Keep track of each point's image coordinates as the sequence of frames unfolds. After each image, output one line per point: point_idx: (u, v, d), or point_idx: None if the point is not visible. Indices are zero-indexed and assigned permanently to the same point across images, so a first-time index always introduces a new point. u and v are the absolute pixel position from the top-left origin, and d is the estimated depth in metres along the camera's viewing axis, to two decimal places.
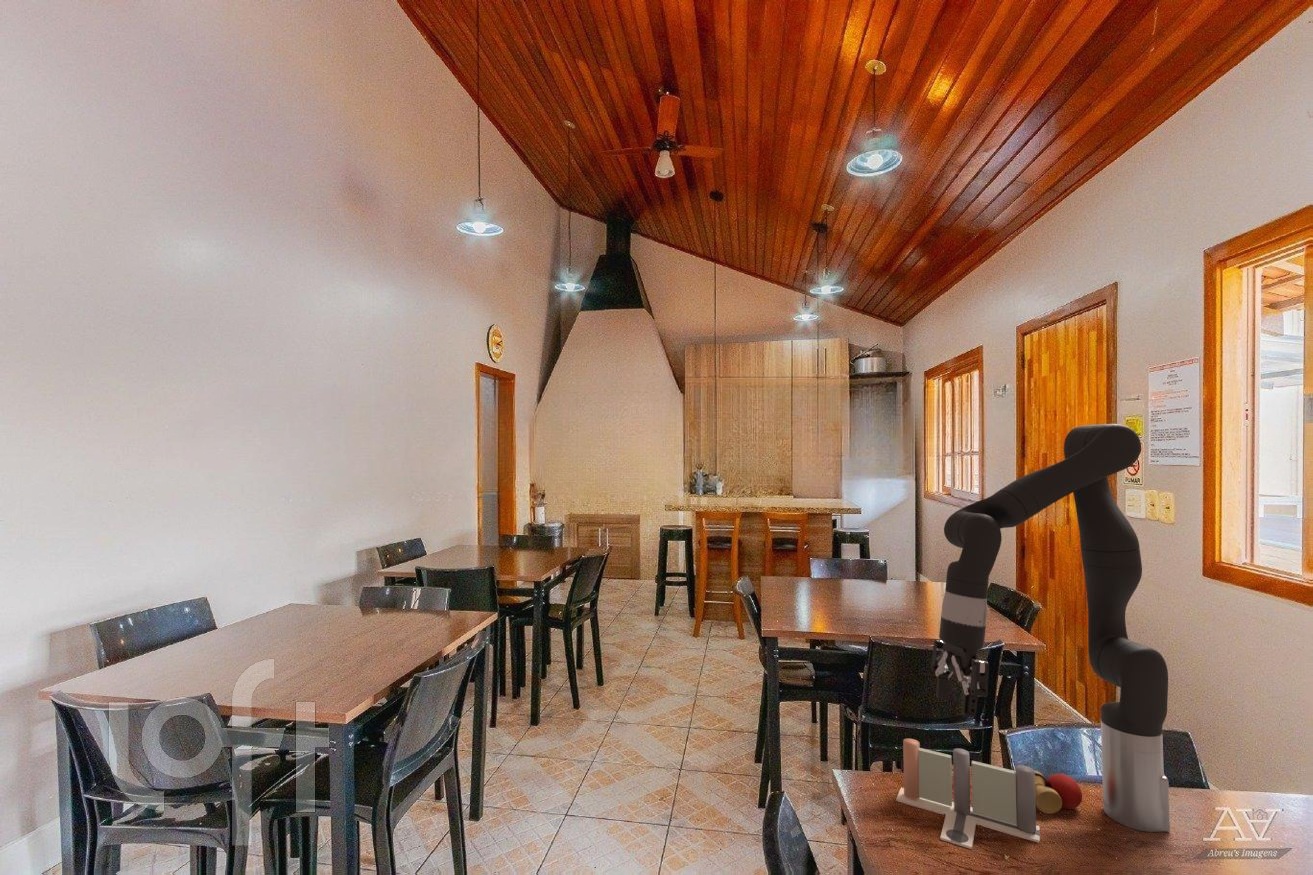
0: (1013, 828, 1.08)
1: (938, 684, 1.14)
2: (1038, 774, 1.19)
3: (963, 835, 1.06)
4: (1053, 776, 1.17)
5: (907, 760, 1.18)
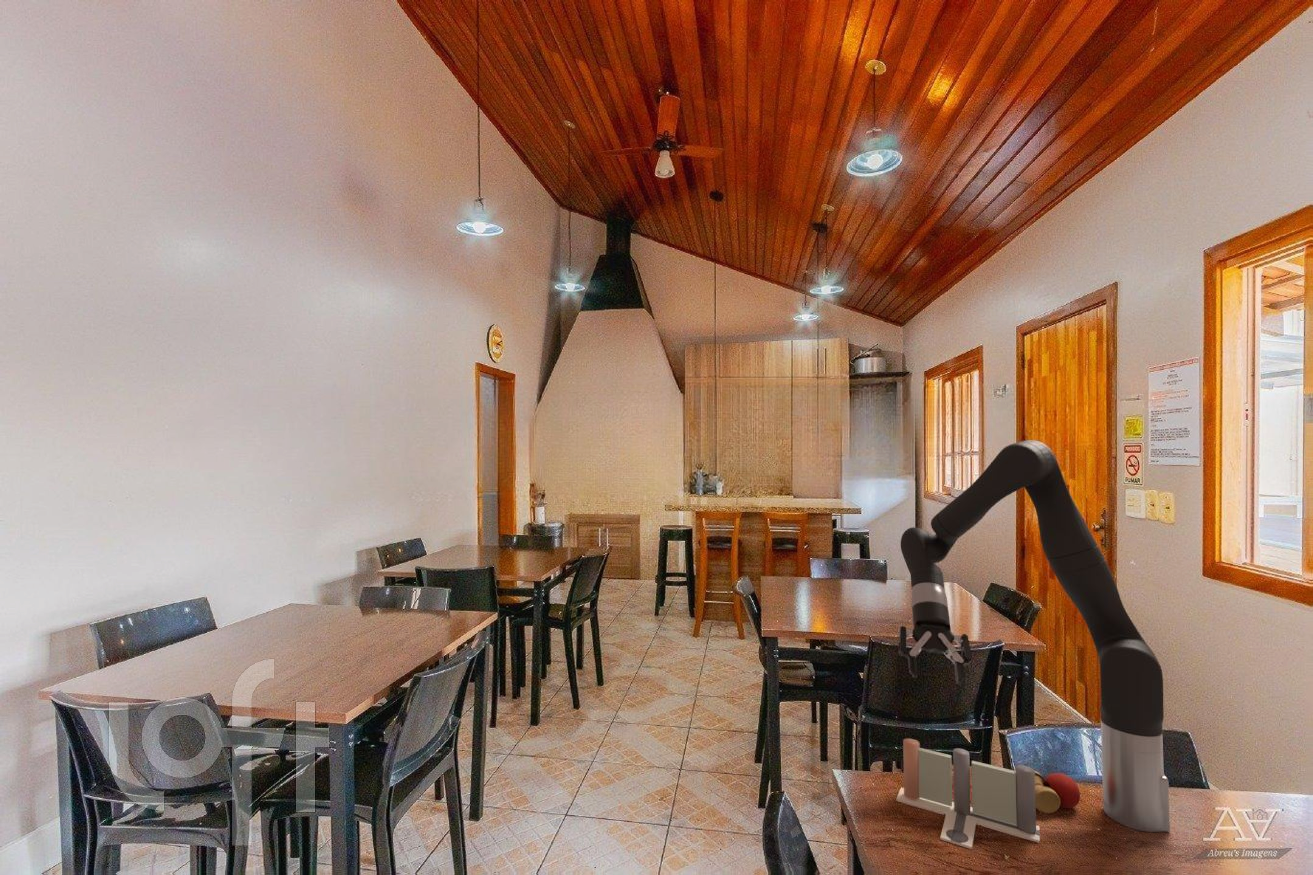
0: (1013, 828, 1.08)
1: None
2: (1036, 774, 1.19)
3: (963, 835, 1.06)
4: (1051, 776, 1.18)
5: (907, 760, 1.18)
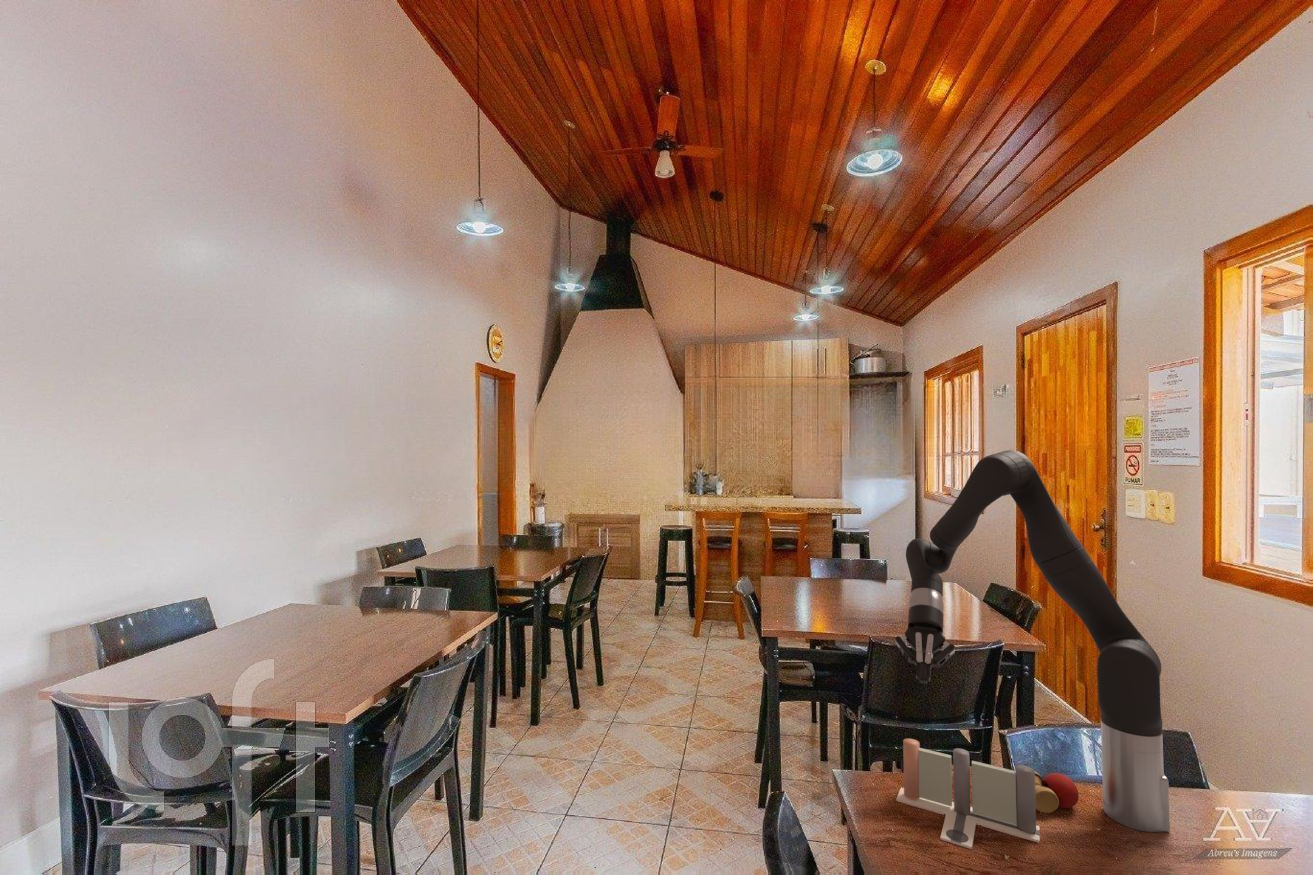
0: (1013, 828, 1.08)
1: None
2: (1035, 774, 1.19)
3: (963, 835, 1.06)
4: (1050, 776, 1.18)
5: (907, 760, 1.18)
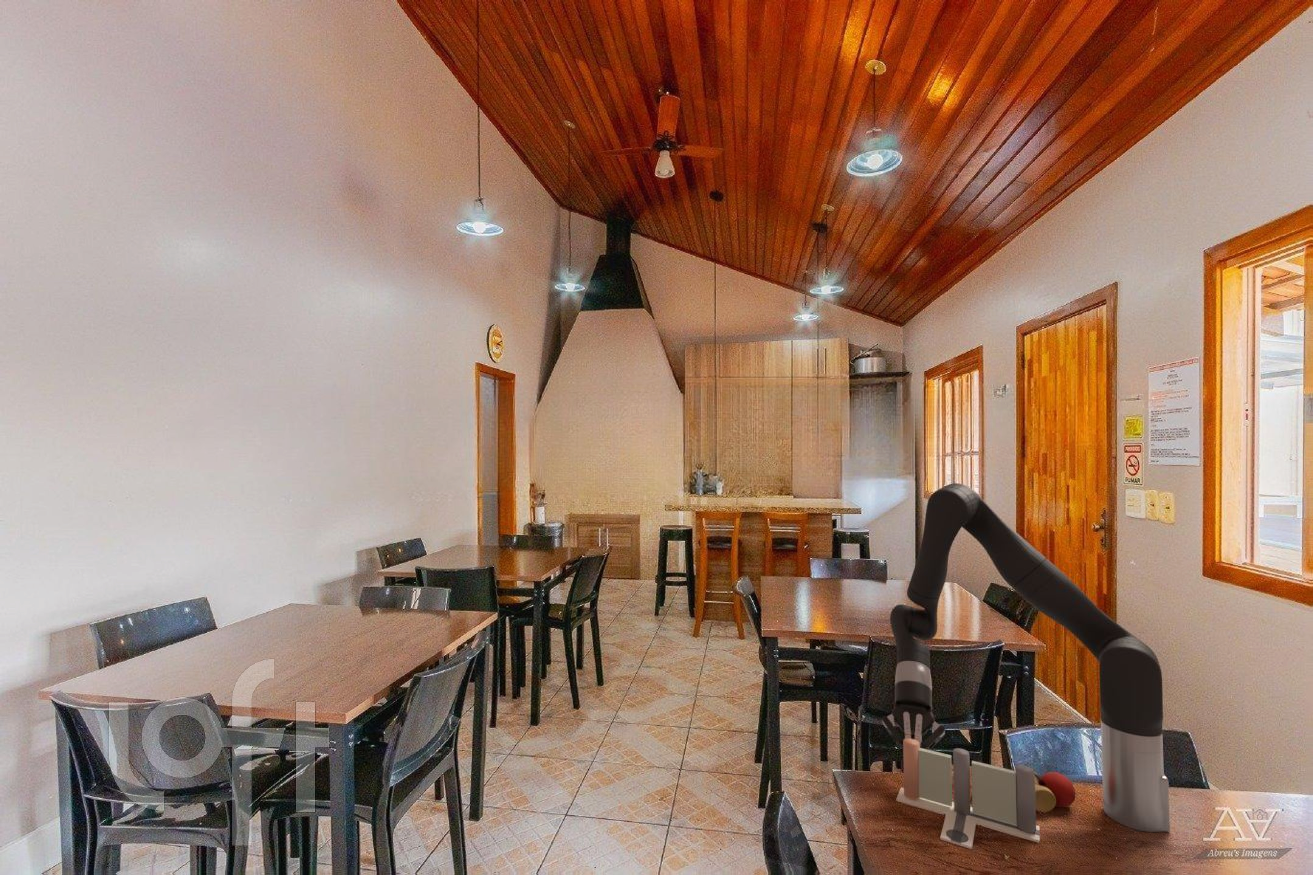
0: (1013, 828, 1.08)
1: None
2: None
3: (963, 835, 1.06)
4: (1047, 775, 1.18)
5: (907, 760, 1.18)
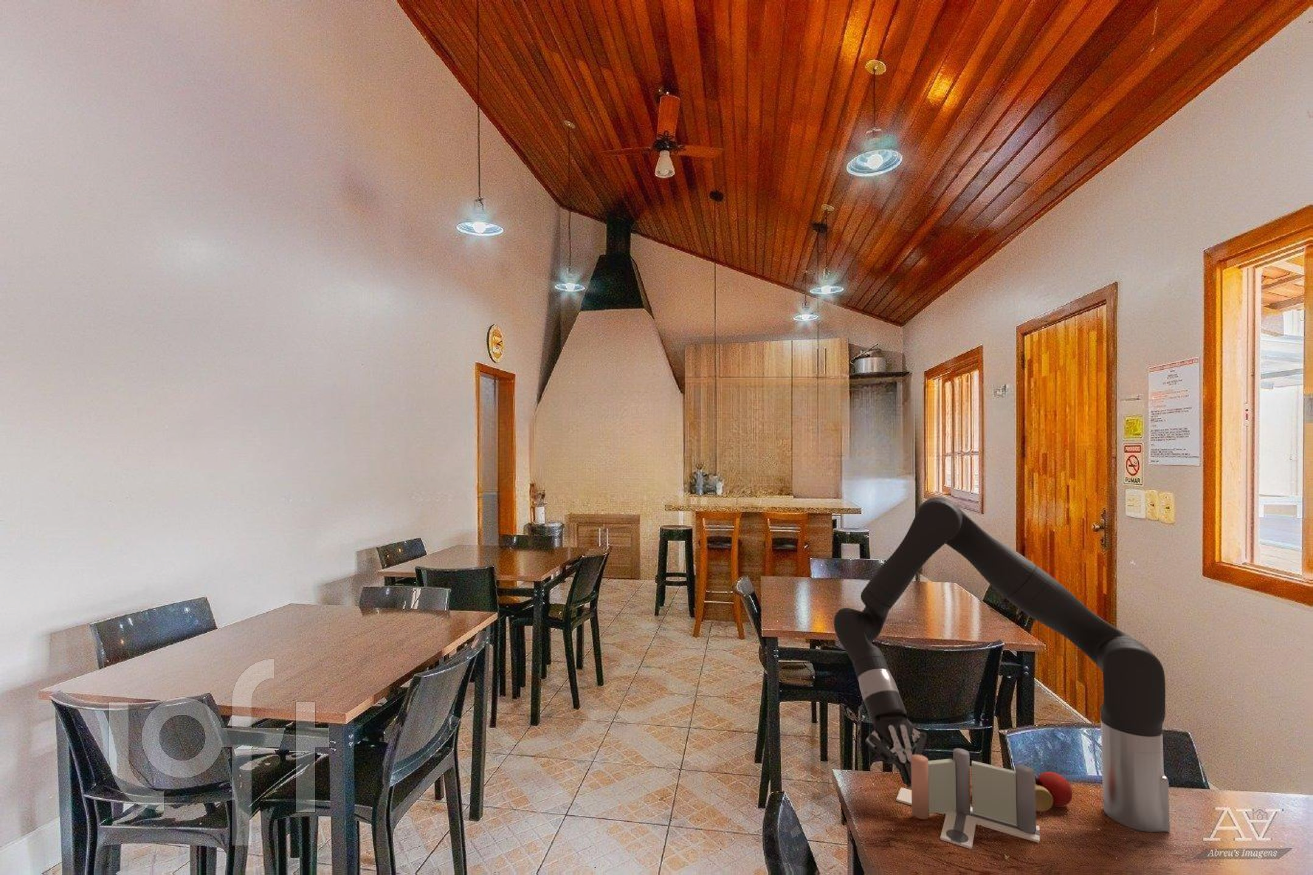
0: (1013, 828, 1.08)
1: None
2: None
3: (963, 835, 1.06)
4: (1044, 774, 1.18)
5: (922, 779, 1.11)
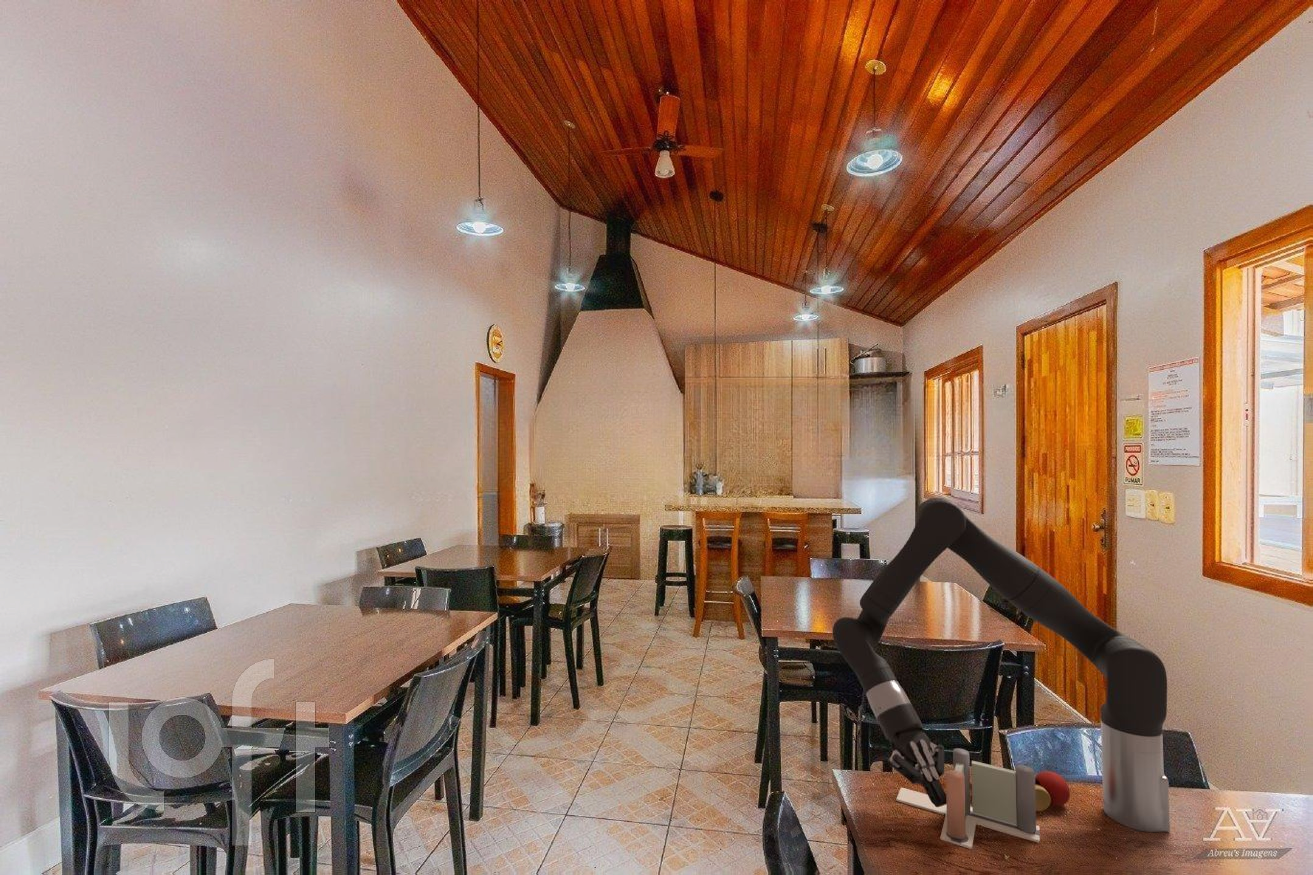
0: (1013, 828, 1.08)
1: None
2: None
3: None
4: (1041, 774, 1.18)
5: (964, 795, 1.06)
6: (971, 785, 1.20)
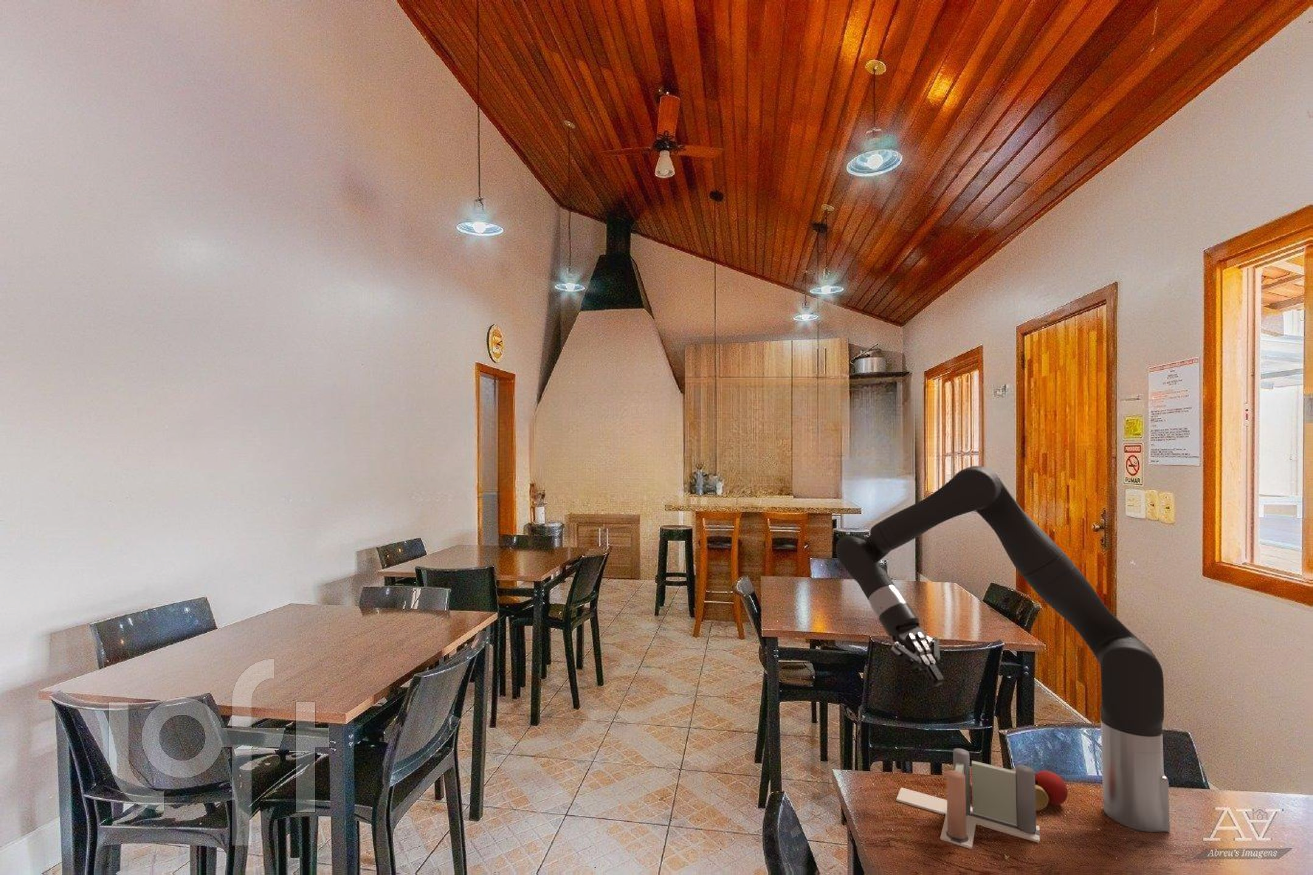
0: (1013, 828, 1.08)
1: None
2: None
3: None
4: (1039, 773, 1.18)
5: (964, 796, 1.05)
6: None
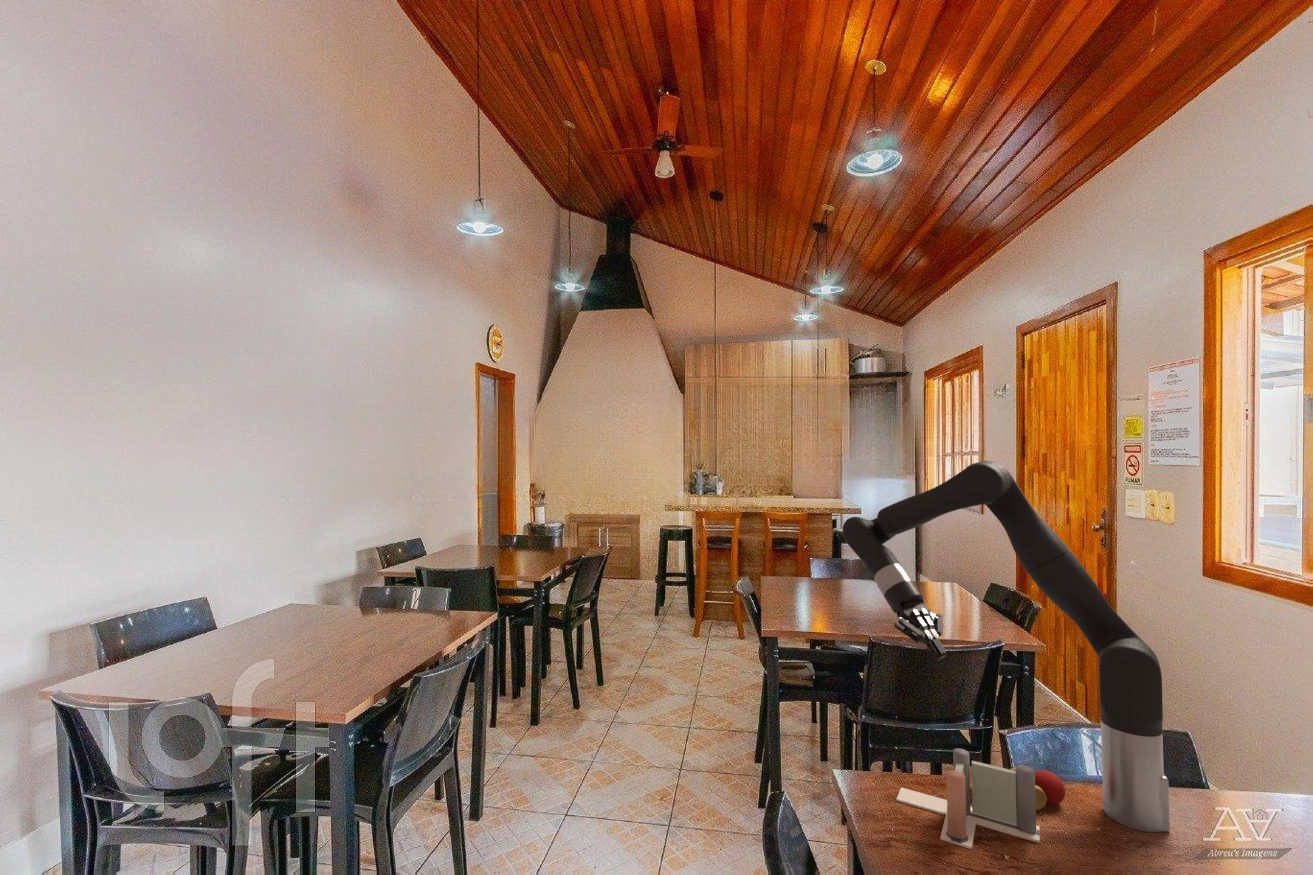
0: (1013, 828, 1.08)
1: None
2: None
3: None
4: (1037, 773, 1.19)
5: (964, 796, 1.05)
6: None
